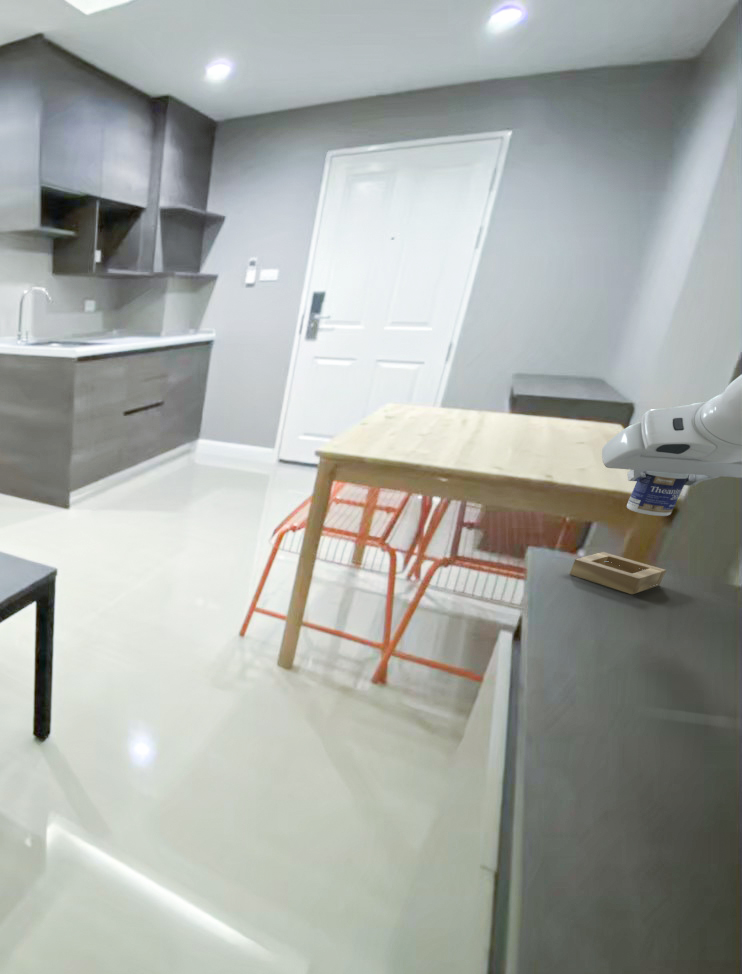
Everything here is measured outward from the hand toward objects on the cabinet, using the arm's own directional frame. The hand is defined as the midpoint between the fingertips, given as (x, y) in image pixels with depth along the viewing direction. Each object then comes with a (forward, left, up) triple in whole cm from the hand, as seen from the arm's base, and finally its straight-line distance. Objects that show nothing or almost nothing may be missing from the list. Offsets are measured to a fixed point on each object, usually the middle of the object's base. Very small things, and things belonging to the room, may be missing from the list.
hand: (658, 479), depth 100 cm
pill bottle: (0, +1, -6) cm, 6 cm away
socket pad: (-1, -1, -19) cm, 19 cm away
